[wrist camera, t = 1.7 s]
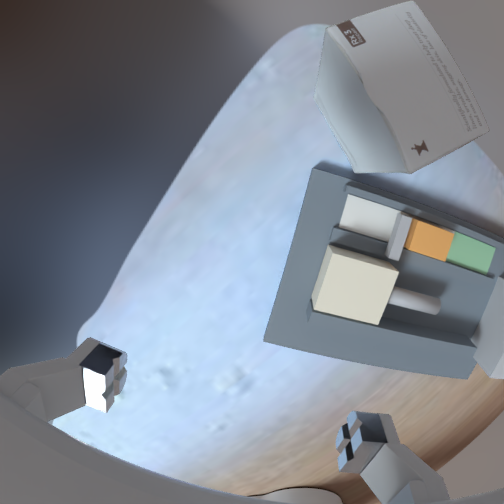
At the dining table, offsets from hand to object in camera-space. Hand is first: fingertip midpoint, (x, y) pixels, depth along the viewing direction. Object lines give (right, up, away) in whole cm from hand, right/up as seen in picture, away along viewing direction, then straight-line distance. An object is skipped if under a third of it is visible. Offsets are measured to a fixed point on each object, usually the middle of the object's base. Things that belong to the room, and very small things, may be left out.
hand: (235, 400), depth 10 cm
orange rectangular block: (+16, +7, +16) cm, 24 cm away
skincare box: (+10, +17, +16) cm, 25 cm away
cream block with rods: (+13, +4, +17) cm, 22 cm away
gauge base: (+16, +1, +19) cm, 25 cm away
